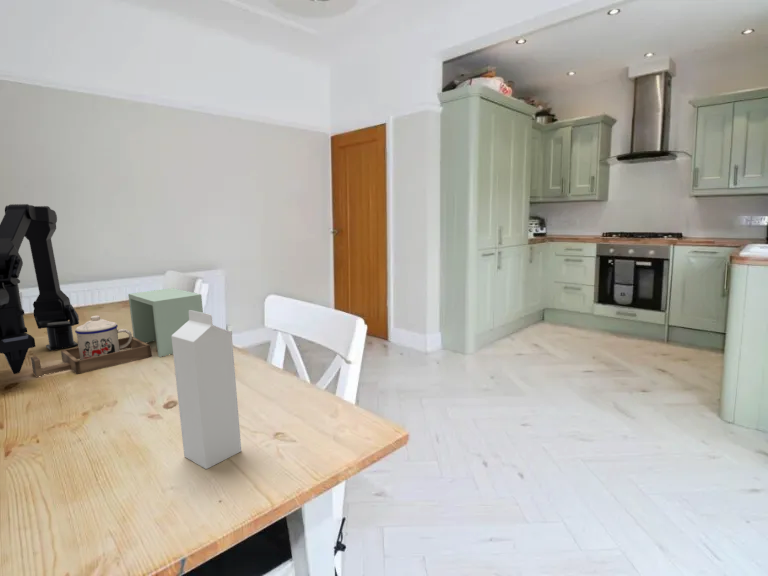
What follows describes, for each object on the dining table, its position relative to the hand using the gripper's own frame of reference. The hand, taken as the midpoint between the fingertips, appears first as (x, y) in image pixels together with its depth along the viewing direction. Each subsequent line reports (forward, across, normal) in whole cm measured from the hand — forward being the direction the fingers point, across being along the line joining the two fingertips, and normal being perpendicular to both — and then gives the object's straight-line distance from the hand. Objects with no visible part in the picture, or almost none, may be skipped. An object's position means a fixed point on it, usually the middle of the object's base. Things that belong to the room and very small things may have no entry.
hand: (16, 373), depth 100 cm
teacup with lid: (+2, 0, +18) cm, 18 cm away
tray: (+1, 0, +15) cm, 15 cm away
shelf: (+2, 0, +34) cm, 34 cm away
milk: (+1, +66, +15) cm, 68 cm away
